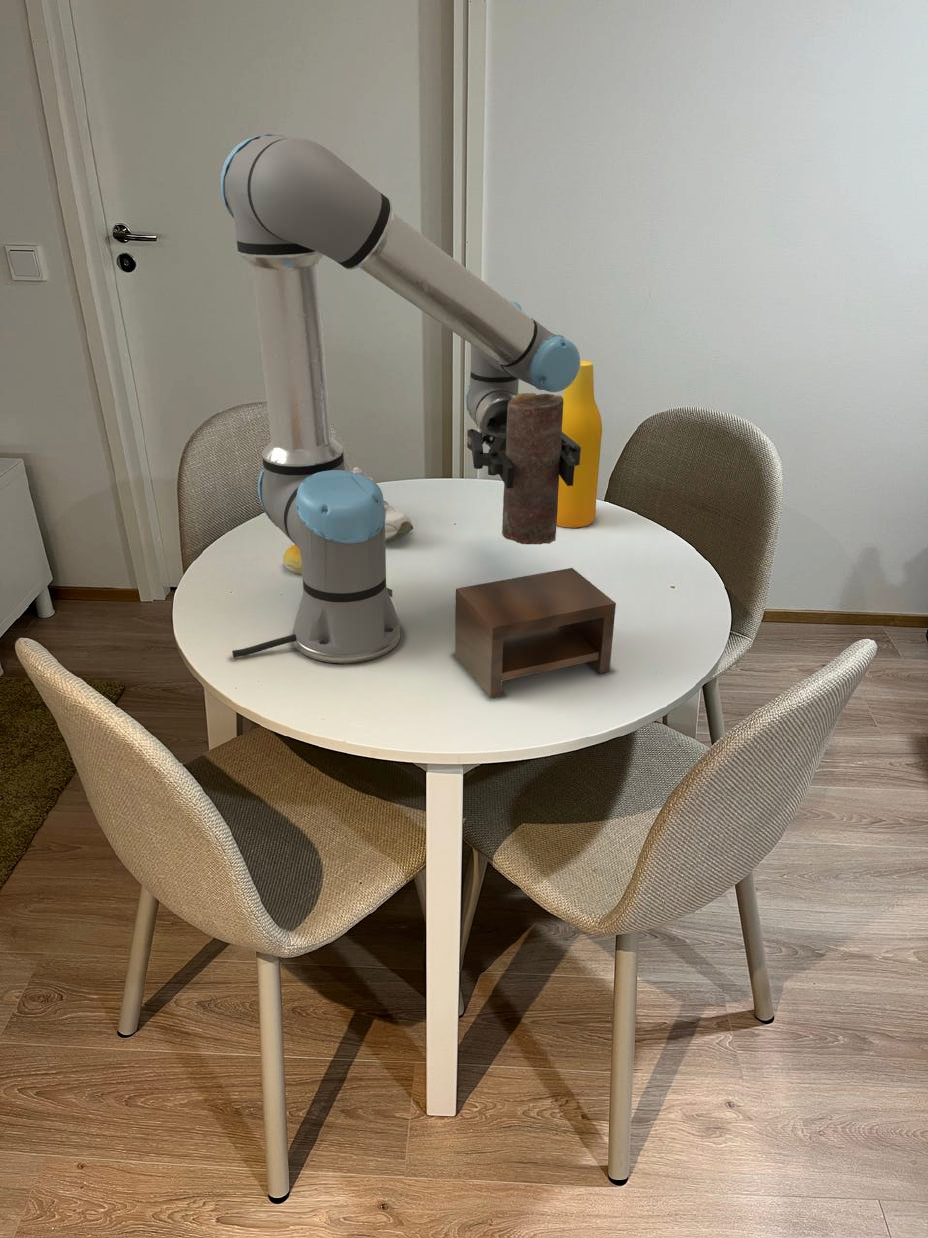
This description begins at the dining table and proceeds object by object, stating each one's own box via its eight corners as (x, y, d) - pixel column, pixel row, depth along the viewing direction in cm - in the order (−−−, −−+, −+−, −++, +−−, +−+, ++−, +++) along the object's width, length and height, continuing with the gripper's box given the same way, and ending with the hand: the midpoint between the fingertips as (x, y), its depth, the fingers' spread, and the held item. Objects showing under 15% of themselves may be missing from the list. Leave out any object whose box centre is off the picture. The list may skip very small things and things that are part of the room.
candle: (539, 557, 129) (548, 407, 120) (491, 544, 132) (495, 398, 123) (564, 537, 135) (575, 393, 125) (518, 526, 138) (524, 385, 129)
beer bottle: (582, 532, 177) (594, 371, 164) (536, 522, 181) (544, 364, 168) (602, 516, 184) (616, 361, 171) (558, 506, 188) (567, 354, 175)
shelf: (490, 698, 128) (492, 627, 123) (454, 655, 138) (455, 588, 133) (609, 671, 134) (616, 603, 129) (567, 632, 144) (572, 567, 139)
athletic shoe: (392, 552, 168) (400, 483, 164) (297, 522, 180) (303, 457, 177) (428, 547, 176) (437, 481, 172) (335, 518, 188) (341, 456, 185)
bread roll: (276, 562, 164) (274, 540, 162) (326, 551, 168) (325, 530, 166) (295, 581, 158) (293, 558, 156) (346, 569, 162) (345, 547, 160)
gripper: (570, 446, 147) (614, 501, 127) (437, 451, 144) (462, 507, 124) (573, 397, 144) (619, 445, 124) (438, 400, 141) (463, 450, 121)
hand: (540, 476), depth 124 cm, fingers closed on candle, 7 cm apart
